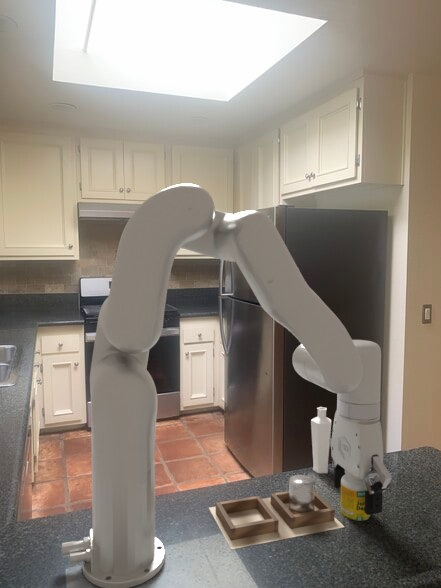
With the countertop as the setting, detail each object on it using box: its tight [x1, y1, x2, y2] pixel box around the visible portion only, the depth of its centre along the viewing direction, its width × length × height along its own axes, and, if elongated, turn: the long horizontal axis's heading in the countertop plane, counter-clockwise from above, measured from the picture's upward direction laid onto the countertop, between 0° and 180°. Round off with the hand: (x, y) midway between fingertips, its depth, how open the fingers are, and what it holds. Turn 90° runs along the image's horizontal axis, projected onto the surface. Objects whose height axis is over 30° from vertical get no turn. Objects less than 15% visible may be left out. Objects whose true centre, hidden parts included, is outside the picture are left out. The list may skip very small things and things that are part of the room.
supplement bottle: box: [340, 470, 371, 522], centre depth 83 cm, size 5×5×10 cm
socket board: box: [208, 490, 345, 551], centre depth 81 cm, size 21×13×3 cm, turn 108°
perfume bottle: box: [310, 406, 332, 474], centre depth 99 cm, size 5×4×15 cm
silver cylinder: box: [288, 474, 316, 515], centre depth 83 cm, size 5×5×6 cm
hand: (356, 499), depth 83 cm, fingers open, 9 cm apart
